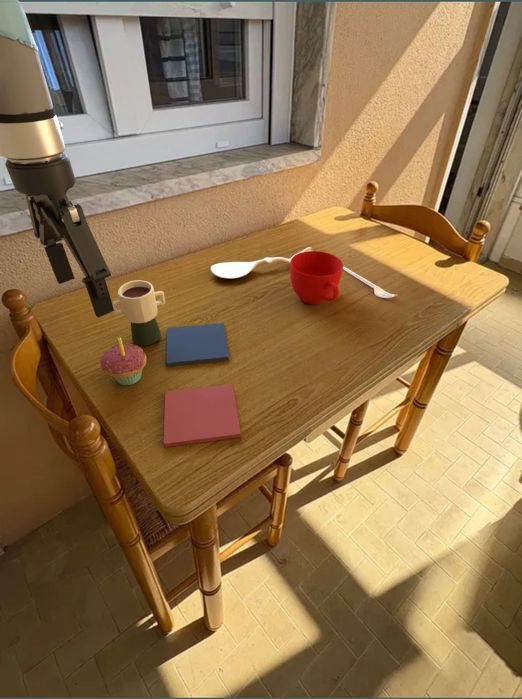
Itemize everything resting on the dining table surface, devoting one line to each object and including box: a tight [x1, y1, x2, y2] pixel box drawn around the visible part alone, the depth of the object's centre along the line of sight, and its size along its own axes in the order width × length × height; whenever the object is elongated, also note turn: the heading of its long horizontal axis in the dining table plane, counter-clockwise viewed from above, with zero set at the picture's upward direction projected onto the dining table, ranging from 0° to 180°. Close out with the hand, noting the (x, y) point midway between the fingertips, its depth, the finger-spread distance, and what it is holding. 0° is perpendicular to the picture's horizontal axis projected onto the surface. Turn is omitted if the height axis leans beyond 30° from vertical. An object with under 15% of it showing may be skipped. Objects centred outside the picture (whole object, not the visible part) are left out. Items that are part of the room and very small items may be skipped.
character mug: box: [112, 279, 166, 346], centre depth 82 cm, size 11×7×13 cm, turn 115°
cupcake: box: [99, 335, 148, 386], centre depth 73 cm, size 9×8×12 cm
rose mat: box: [163, 383, 242, 448], centre depth 69 cm, size 13×12×1 cm
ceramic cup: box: [289, 250, 344, 305], centre depth 95 cm, size 13×17×10 cm
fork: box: [343, 266, 397, 299], centre depth 104 cm, size 3×20×2 cm, turn 32°
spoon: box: [210, 246, 314, 280], centre depth 109 cm, size 9×32×4 cm, turn 108°
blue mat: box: [165, 322, 230, 367], centre depth 84 cm, size 13×12×1 cm
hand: (84, 296), depth 63 cm, fingers open, 13 cm apart
